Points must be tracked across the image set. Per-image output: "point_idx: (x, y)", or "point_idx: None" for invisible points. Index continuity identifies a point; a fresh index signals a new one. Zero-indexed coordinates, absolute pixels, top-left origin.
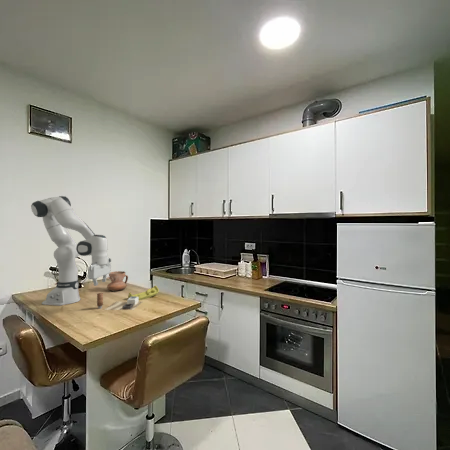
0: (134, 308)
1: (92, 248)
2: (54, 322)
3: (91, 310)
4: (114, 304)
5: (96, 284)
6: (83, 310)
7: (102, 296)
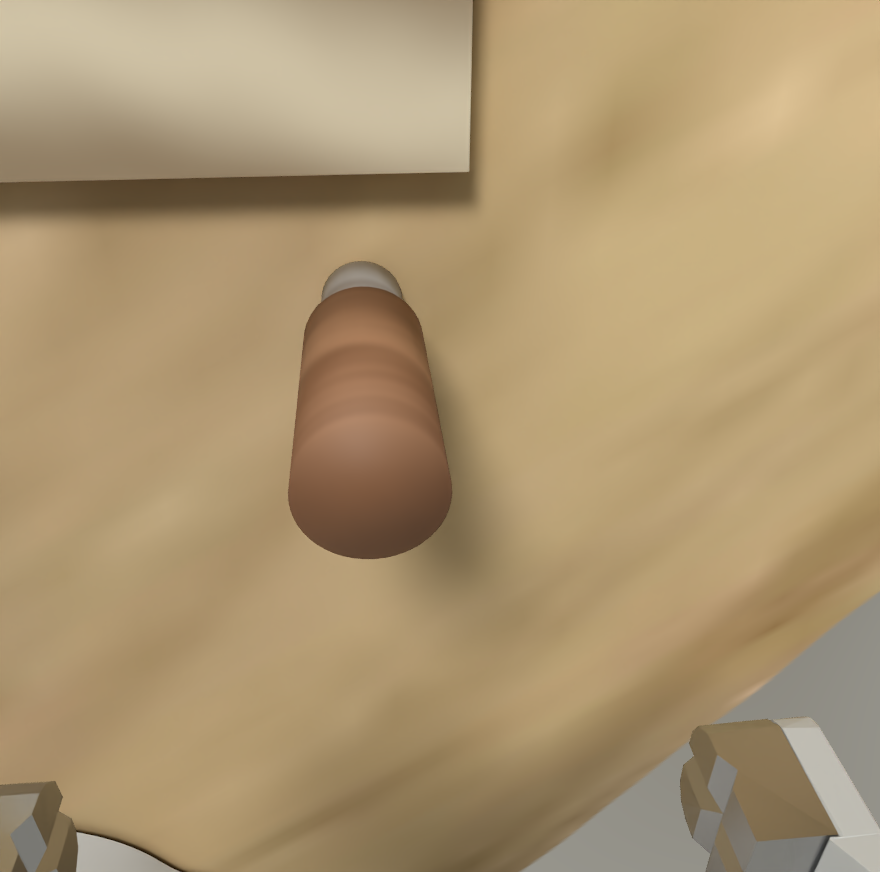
0: None
1: None
2: (850, 606)
3: None
4: (67, 108)
5: (826, 755)
6: None
7: (371, 384)
